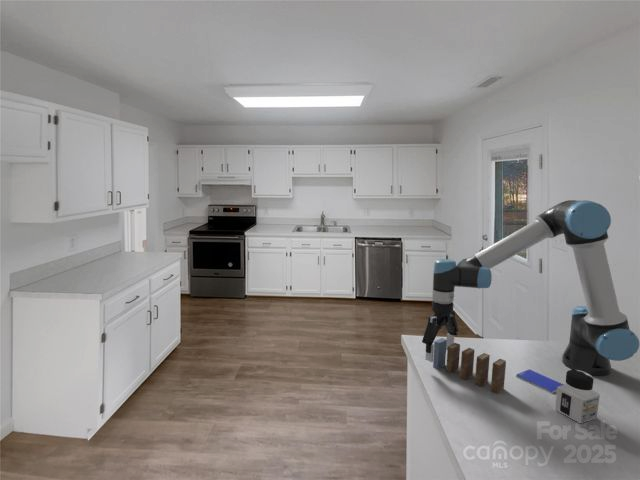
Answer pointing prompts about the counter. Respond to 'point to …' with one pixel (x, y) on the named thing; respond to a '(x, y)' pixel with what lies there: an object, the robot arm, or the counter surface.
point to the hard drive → (539, 380)
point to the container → (577, 397)
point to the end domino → (439, 353)
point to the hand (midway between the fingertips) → (439, 355)
